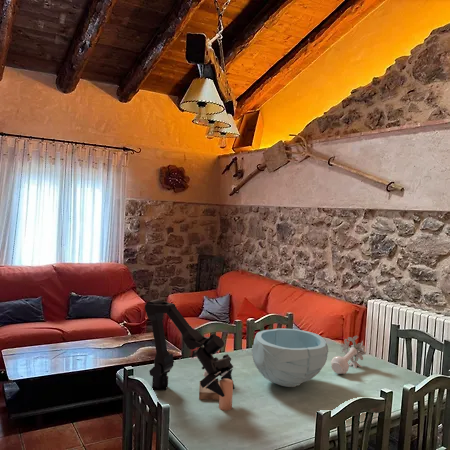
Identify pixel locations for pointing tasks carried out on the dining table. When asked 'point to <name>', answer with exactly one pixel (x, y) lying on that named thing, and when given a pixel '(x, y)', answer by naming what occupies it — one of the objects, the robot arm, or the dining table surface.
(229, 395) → the terracotta cylinder
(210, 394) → the walnut plinth
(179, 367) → the dining table surface
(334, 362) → the flower vase
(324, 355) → the bowl
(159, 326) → the robot arm
